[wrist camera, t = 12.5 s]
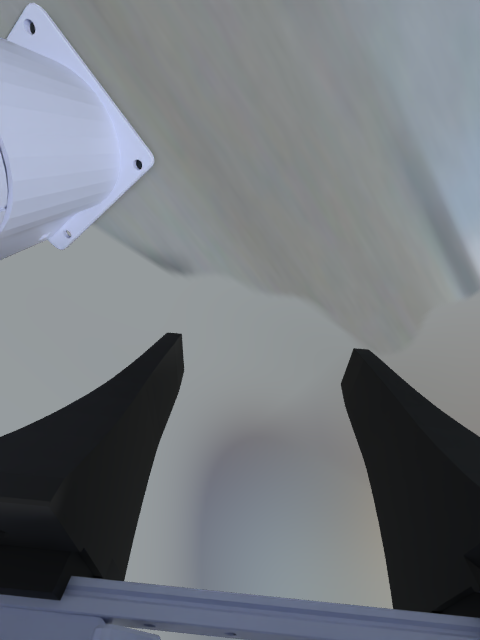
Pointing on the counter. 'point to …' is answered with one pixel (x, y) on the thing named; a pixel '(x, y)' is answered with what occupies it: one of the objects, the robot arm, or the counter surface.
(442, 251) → the counter surface
